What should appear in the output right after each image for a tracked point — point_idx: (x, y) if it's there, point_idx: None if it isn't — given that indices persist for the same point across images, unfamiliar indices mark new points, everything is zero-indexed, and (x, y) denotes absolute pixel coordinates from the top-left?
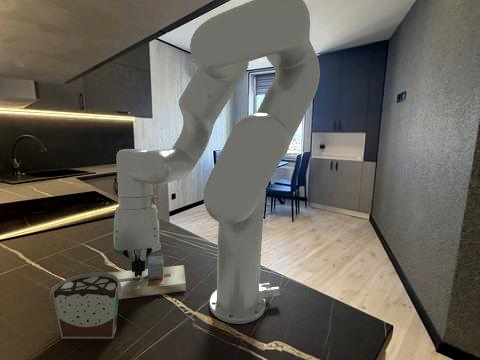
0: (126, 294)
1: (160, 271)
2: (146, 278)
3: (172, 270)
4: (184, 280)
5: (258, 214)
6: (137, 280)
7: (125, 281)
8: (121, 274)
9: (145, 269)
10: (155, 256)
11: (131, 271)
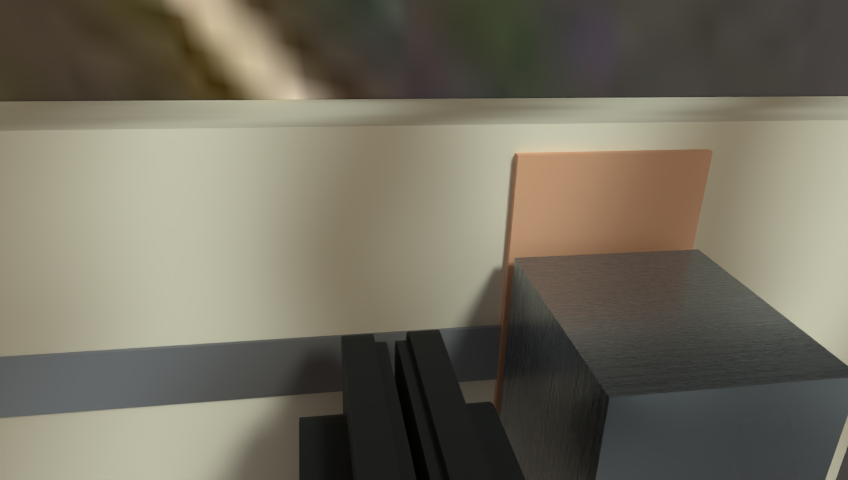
0: None
1: None
2: (471, 375)
3: (790, 232)
4: (839, 444)
5: None
6: None
7: (218, 403)
8: (103, 229)
9: (450, 141)
10: (723, 403)
11: (240, 162)
